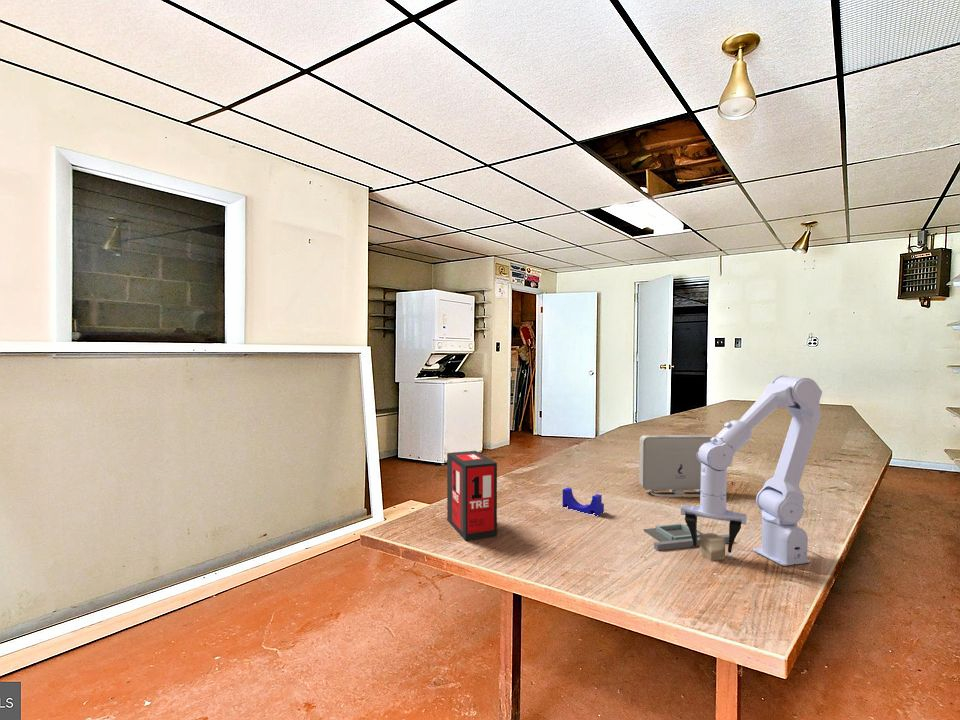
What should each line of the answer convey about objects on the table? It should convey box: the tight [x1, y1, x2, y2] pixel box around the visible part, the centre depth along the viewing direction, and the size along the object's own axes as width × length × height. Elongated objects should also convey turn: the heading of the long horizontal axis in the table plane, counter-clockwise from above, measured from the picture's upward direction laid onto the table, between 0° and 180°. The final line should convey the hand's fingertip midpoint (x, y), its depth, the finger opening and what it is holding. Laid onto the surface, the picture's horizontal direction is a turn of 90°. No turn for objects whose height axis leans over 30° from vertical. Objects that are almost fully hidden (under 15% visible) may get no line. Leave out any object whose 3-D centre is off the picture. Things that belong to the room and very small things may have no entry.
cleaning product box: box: [446, 450, 498, 542], centre depth 141 cm, size 16×9×20 cm, turn 21°
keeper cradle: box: [642, 523, 704, 542], centre depth 136 cm, size 11×14×2 cm
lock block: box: [699, 532, 726, 562], centre depth 123 cm, size 4×4×5 cm
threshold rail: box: [653, 533, 729, 552], centre depth 130 cm, size 2×22×2 cm, turn 104°
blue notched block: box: [562, 487, 605, 517], centre depth 157 cm, size 12×4×6 cm, turn 48°
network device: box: [638, 434, 713, 498], centre depth 174 cm, size 26×9×20 cm, turn 92°
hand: (712, 547), depth 123 cm, fingers open, 7 cm apart
